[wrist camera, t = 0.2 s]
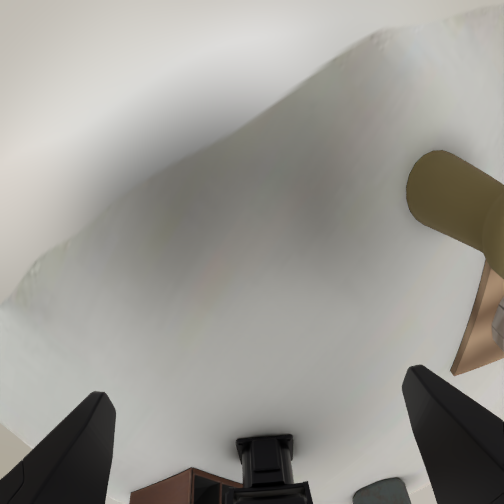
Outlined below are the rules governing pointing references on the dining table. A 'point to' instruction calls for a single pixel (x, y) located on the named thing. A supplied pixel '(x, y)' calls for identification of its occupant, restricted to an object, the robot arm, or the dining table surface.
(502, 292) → the socket holder
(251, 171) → the dining table surface
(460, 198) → the cork
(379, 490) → the bottle
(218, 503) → the letter holder
